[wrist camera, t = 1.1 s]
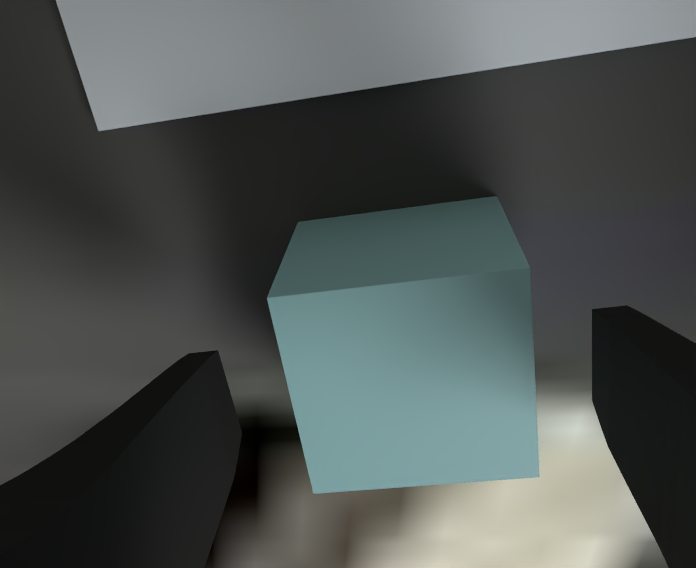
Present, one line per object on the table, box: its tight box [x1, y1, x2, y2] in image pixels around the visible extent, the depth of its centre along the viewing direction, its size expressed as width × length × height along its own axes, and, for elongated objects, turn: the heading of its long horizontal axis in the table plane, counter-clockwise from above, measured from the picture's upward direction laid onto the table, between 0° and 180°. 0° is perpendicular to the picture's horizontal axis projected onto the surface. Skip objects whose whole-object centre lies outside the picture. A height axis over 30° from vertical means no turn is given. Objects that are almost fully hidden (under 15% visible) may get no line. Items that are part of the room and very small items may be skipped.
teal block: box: [267, 196, 539, 494], centre depth 14 cm, size 4×4×4 cm
